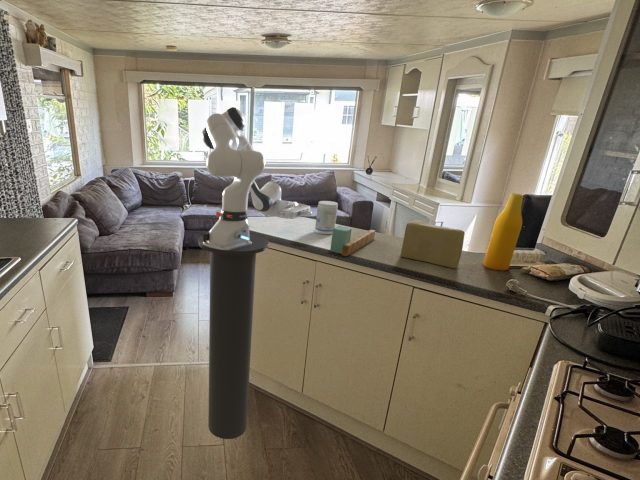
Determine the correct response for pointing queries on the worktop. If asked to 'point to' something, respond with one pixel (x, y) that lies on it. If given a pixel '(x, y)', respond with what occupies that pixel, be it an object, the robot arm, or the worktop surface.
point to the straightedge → (358, 242)
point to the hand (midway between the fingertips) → (310, 214)
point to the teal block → (340, 238)
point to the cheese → (432, 244)
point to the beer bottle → (505, 235)
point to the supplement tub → (326, 217)
